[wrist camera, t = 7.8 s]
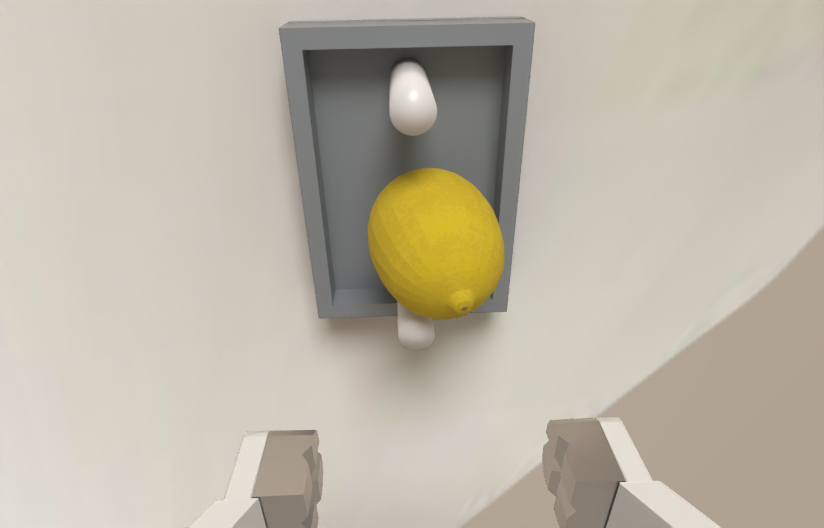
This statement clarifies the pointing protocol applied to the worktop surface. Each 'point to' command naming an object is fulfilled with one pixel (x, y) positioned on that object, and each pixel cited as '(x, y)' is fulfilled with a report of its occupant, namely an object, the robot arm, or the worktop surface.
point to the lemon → (436, 243)
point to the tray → (401, 137)
